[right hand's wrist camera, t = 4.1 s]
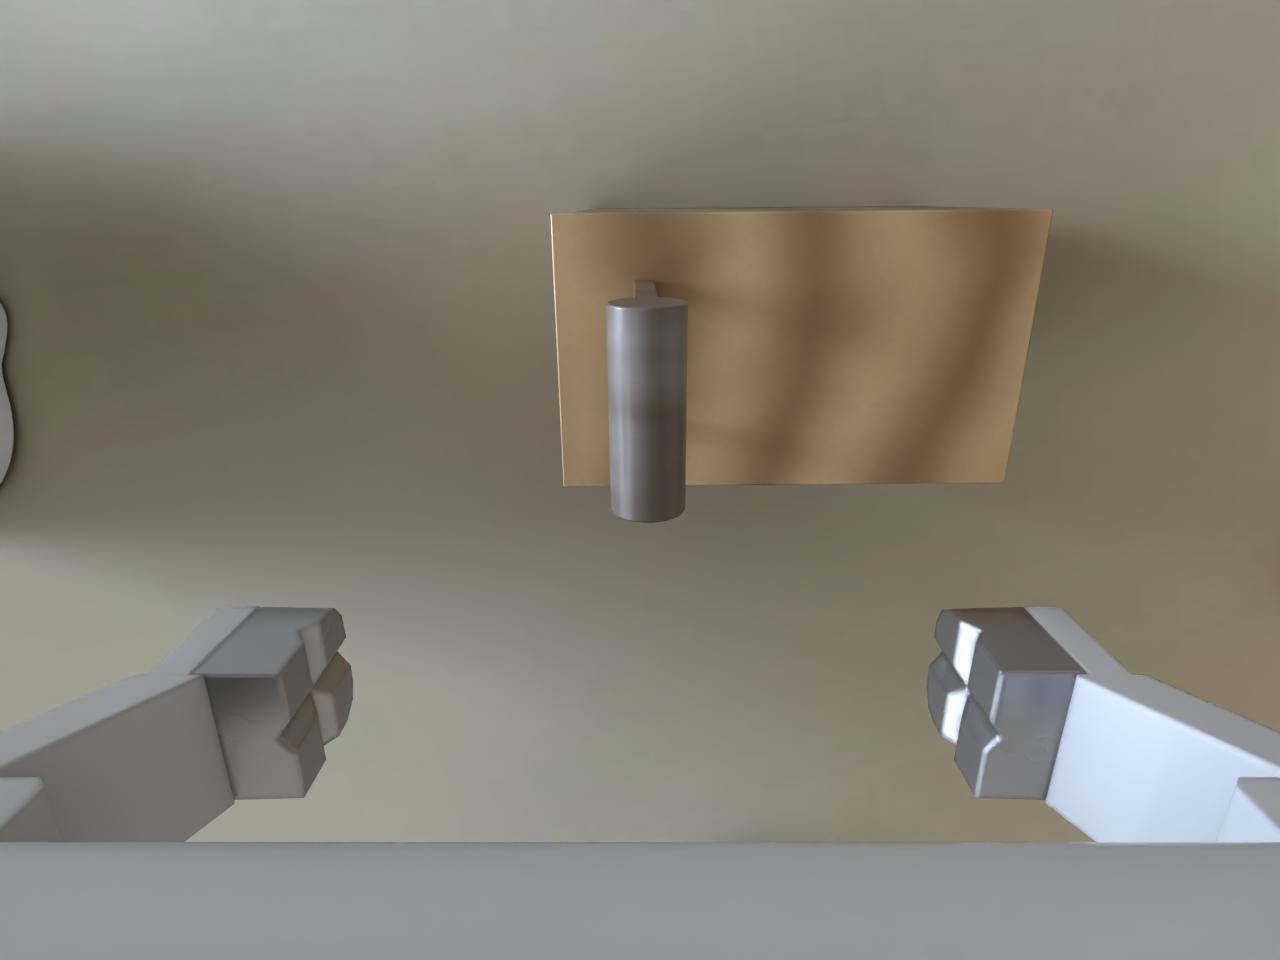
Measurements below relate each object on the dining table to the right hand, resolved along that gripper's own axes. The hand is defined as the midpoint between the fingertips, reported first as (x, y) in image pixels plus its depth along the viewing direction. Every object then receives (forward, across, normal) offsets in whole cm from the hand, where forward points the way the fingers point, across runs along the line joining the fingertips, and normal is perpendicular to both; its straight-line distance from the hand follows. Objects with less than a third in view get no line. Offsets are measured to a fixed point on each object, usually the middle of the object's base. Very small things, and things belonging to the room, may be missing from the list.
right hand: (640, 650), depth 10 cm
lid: (+18, +5, +1) cm, 19 cm away
